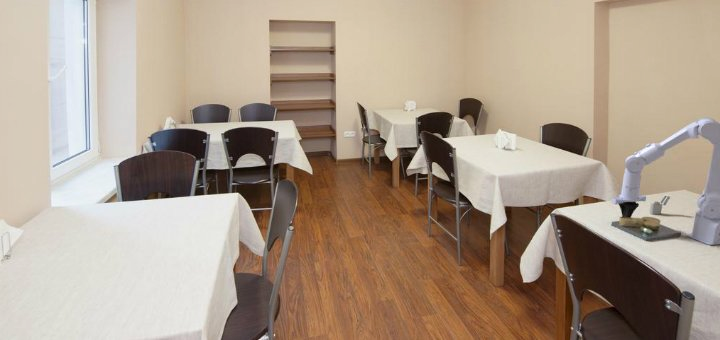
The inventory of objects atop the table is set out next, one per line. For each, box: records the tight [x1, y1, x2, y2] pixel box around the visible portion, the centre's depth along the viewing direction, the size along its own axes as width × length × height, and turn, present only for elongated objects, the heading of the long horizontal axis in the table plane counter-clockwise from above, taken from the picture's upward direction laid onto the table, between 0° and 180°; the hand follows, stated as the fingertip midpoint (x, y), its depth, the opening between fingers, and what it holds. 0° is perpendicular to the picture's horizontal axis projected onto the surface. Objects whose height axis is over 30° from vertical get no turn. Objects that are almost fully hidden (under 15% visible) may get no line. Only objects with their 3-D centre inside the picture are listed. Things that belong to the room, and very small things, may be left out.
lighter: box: [649, 194, 671, 215], centre depth 190 cm, size 7×2×8 cm, turn 96°
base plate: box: [610, 220, 682, 242], centre depth 172 cm, size 16×16×3 cm
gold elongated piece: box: [618, 216, 661, 230], centre depth 172 cm, size 14×6×3 cm, turn 77°
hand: (625, 219), depth 176 cm, fingers closed
